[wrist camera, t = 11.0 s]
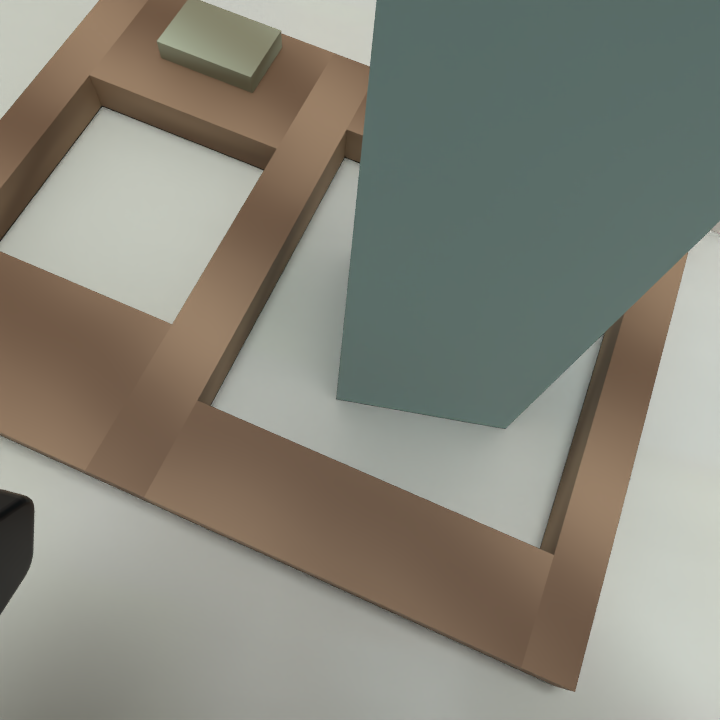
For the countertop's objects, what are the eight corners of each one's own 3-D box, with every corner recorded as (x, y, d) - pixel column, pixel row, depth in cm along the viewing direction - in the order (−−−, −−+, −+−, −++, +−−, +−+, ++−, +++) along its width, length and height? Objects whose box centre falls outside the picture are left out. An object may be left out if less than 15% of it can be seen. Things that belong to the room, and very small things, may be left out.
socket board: (554, 685, 15) (585, 695, 13) (-154, 365, 16) (-207, 337, 15) (681, 215, 20) (715, 178, 18) (131, 6, 21) (116, -45, 20)
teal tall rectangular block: (505, 429, 17) (1407, -447, 3) (336, 399, 17) (438, -618, 3) (517, 279, 19) (1129, -728, 5) (363, 252, 19) (510, -837, 5)
